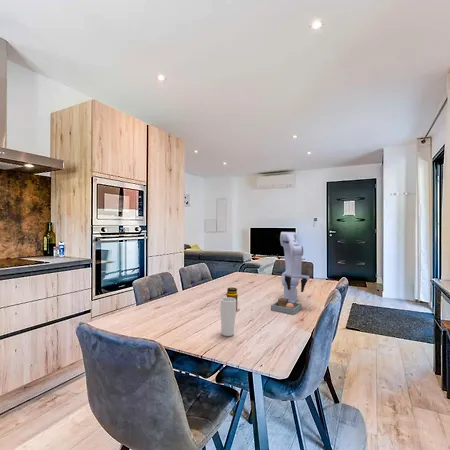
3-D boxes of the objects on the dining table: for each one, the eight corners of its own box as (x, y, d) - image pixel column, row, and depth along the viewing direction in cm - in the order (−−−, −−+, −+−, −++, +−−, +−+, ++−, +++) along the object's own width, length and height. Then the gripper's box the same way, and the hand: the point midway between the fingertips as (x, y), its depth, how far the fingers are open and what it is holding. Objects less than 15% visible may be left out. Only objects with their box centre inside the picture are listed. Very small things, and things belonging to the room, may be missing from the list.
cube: (280, 305, 165) (281, 297, 165) (288, 306, 162) (288, 298, 162) (277, 307, 161) (278, 299, 161) (285, 308, 158) (285, 300, 158)
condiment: (234, 313, 150) (234, 290, 150) (220, 310, 154) (220, 288, 154) (240, 309, 157) (240, 287, 156) (226, 306, 161) (227, 285, 161)
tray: (279, 305, 167) (279, 299, 167) (301, 309, 160) (301, 303, 160) (270, 310, 156) (271, 305, 156) (293, 315, 149) (293, 309, 149)
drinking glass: (235, 331, 125) (235, 297, 124) (236, 337, 118) (237, 301, 118) (219, 331, 124) (220, 297, 124) (219, 337, 118) (220, 301, 117)
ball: (287, 309, 157) (287, 301, 157) (295, 310, 155) (295, 302, 155) (284, 311, 154) (284, 303, 153) (292, 313, 151) (292, 304, 151)
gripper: (281, 266, 162) (280, 290, 162) (306, 269, 154) (306, 294, 154) (285, 265, 168) (285, 288, 168) (310, 267, 160) (309, 291, 160)
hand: (295, 290), depth 161 cm, fingers open, 7 cm apart
